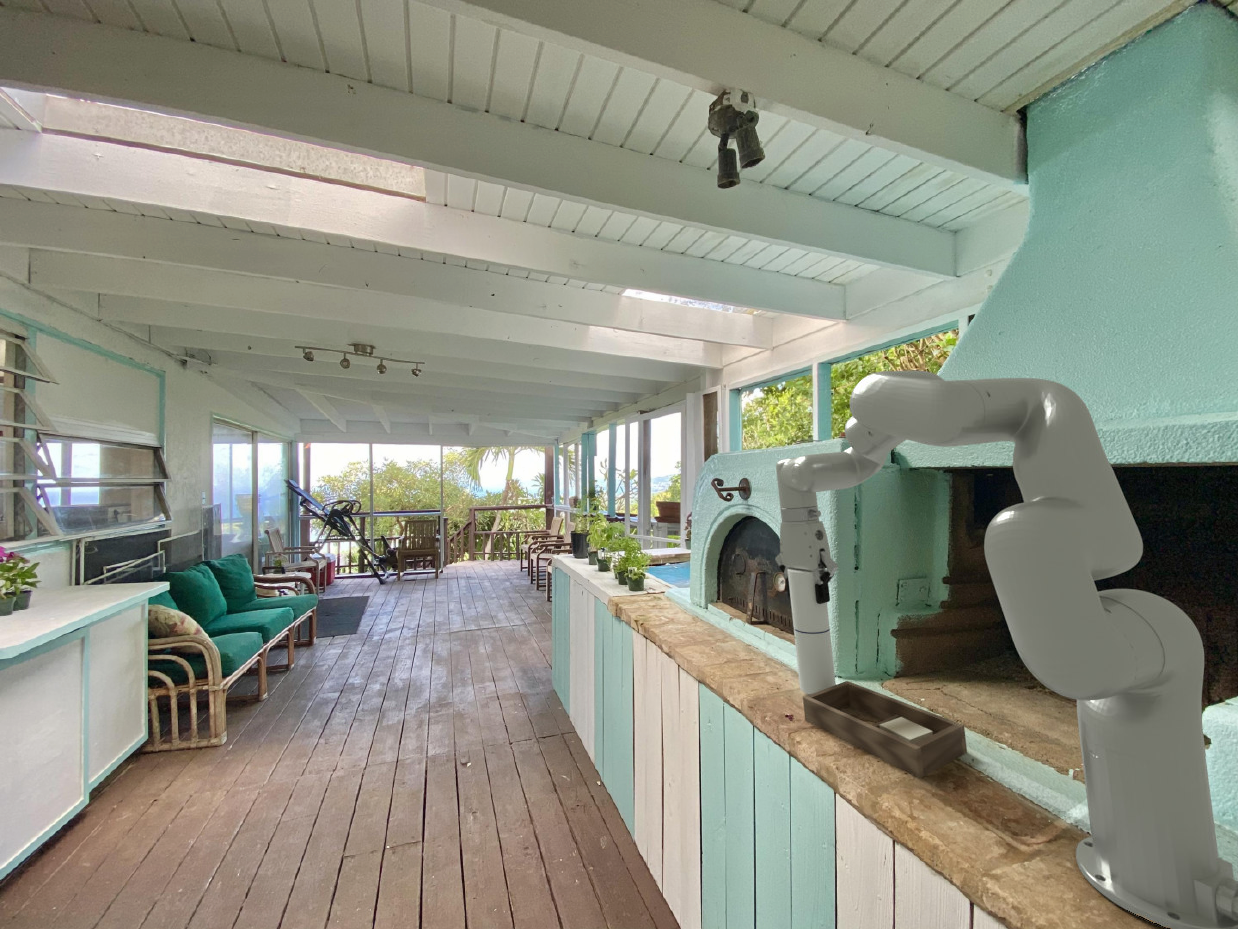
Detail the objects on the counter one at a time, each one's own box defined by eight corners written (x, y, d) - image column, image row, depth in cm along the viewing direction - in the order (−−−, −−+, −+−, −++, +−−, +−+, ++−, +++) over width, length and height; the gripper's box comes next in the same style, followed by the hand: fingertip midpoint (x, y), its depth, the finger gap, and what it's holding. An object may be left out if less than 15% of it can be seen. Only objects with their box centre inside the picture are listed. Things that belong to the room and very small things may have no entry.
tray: (967, 757, 79) (964, 725, 79) (919, 783, 73) (916, 749, 74) (849, 706, 98) (847, 680, 99) (805, 724, 93) (802, 697, 93)
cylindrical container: (814, 698, 100) (801, 574, 101) (792, 685, 107) (780, 569, 108) (844, 691, 102) (830, 569, 103) (821, 679, 109) (809, 564, 110)
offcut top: (933, 741, 80) (932, 731, 80) (911, 750, 78) (910, 739, 78) (902, 726, 85) (901, 717, 85) (880, 734, 83) (879, 724, 83)
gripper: (846, 514, 99) (856, 603, 99) (783, 513, 115) (791, 589, 114) (819, 518, 96) (829, 610, 95) (758, 516, 112) (766, 595, 111)
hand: (808, 598), depth 105 cm, fingers closed on cylindrical container, 7 cm apart
